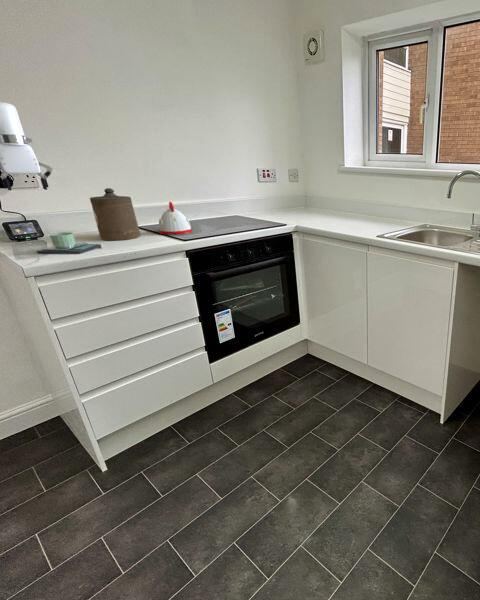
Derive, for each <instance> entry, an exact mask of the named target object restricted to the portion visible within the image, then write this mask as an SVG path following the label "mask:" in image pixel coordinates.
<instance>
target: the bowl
mask: <svg viewBox="0 0 480 600" xmlns="http://www.w3.org/2000/svg"><path fill="white" fill-rule="evenodd" d="M49 237H50V240H51V244H52V246H55V247H58V248H62V247H71V246H75V244H77V243H78V242H77V240H76V237H75V234H74V232H69V231H67V232H66V231H64V232H55V233H50V234H49Z"/></svg>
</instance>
